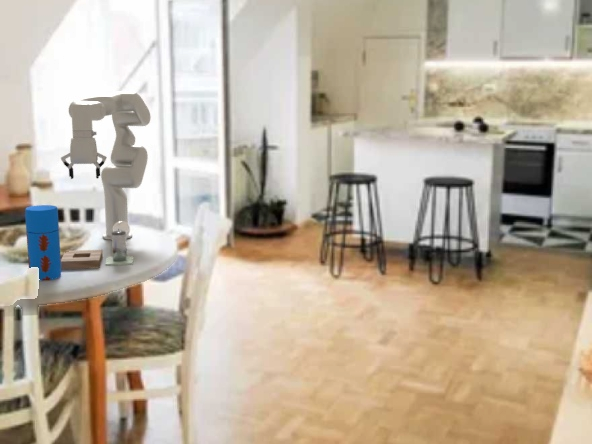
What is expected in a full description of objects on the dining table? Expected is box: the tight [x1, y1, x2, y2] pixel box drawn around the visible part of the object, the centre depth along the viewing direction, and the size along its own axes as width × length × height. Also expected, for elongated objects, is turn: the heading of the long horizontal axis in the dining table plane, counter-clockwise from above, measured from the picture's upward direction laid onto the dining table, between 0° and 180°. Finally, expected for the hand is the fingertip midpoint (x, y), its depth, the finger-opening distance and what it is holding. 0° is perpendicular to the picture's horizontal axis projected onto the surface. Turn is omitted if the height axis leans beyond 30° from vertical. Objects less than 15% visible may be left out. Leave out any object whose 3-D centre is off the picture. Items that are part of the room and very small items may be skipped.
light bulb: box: [113, 221, 131, 241], centre depth 299 cm, size 7×7×12 cm
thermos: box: [24, 204, 62, 282], centre depth 258 cm, size 11×11×25 cm
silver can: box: [111, 231, 128, 262], centre depth 280 cm, size 5×5×11 cm
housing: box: [61, 249, 104, 270], centre depth 279 cm, size 16×14×3 cm
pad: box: [105, 255, 134, 266], centre depth 282 cm, size 10×10×1 cm
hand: (84, 178), depth 288 cm, fingers open, 9 cm apart
